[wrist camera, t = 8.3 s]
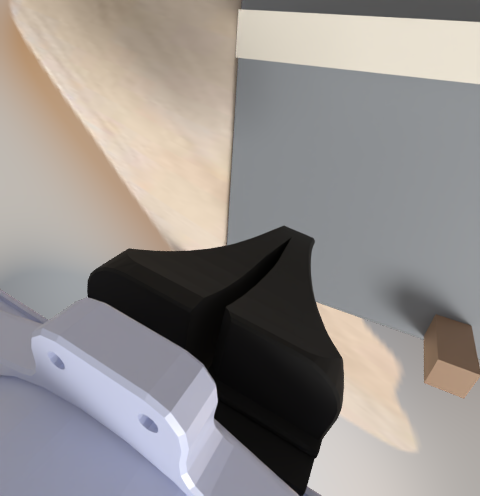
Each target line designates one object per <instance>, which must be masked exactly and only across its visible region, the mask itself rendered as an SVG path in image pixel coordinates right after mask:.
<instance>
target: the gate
mask: <svg viewBox="0 0 480 496" xmlns="http://www.w3.org/2000/svg"><path fill="white" fill-rule="evenodd" d="M235 57H236V58H245V59H255V60H264V61H273V62H282V63H291V64H300V65H309V66H318V67H327V68H336V69H345V70H355V71H364V72H373V73H382V74H391V75H400V76H409V77H418V78H427V79H436V80H446V81H455V82H464V83H473V84H480V22H468V21H449V20H431V19H412V18H393V17H374V16H355V15H337V14H318V13H299V12H280V11H262V10H243V9H238V25H237V41H236V56H235Z"/></svg>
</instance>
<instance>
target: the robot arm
mask: <svg viewBox="0 0 480 496" xmlns="http://www.w3.org/2000/svg"><path fill="white" fill-rule="evenodd" d="M314 244H315V240H314V238H312V237H310V236H308V235H305V234H303V233H301V232H298V231H296V230H293V229H291V228H289V227H286V226H281V227H279V228H276V229H274V230H271V231H269V232H266V233H264V234H261V235H259V236H256V237H253V238H251V239H248V240H244V241H241V242H238V243H235V244H231V245H227V246H222V247H217V248H211V249H202V250H192V251H150V250H138V249H127V250H126V251H124V252H122V253H121V254H119V255H117V256H116V257H114V258H113V259H111V260H109V261H108V262H106V263H105V264H103V265H102V266H100V267H98V268H97V269H95V270H94V271H93V272H92V273H91V274H90V276H89V279H88V290H87V292H88V298H87V297H86V298H84V299H81V300H78V301H76V302H74V303H73V304H72V305H70V306H69V307H67V308H66V309H64V310H63V311H61V312H60V313H58V314H57V315H56V316H54V317H53V318H51V319H50V320H48V319H46V318H45V317H43V316H41V315H40V314H38V313H36V312H35V311H34V310H32V309H31V308H29V307H27V306H26V305H24V304H23V303H21V302H20V301H18V300H16V299H15V298H13V297H12V296H10V295H9V294H7V293H6V292H4V291H3V290H1V289H0V496H321V495H320V494H318V493H317V492H315V491H314V490H312V489H310V488H309V487H307V484H308V480H309V477H310V473H311V469H312V466H313V462H314V458H316V457H317V455H318V453H319V449H320V446H321V442H322V439H323V437H324V436H325V435H326V433H327V432H328V431H329V429H330V428H331V427H332V425H333V424H334V423H335V421H336V420H337V418H338V416H339V414H340V411H341V408H342V402H343V390H344V370H343V359H342V357H341V355H340V354H339V352H338V351H337V349H336V347H335V346H334V344H333V342H332V341H331V339H330V337H329V335H328V333H327V331H326V329H325V327H324V324H323V322H322V319H321V316H320V314H319V311H318V308H317V304H316V301H315V297H314V292H313V286H312V278H311V254H312V248H313V246H314Z"/></svg>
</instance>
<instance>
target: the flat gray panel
mask: <svg viewBox="0 0 480 496" xmlns="http://www.w3.org/2000/svg"><path fill="white" fill-rule="evenodd" d="M241 9H243V10H262V11H280V12H299V13H318V14H337V15H355V16H374V17H393V18H412V19H431V20H449V21H468V22H480V0H242V5H241ZM281 226H286V227H289V228H291V229H293V230H296V231H298V232H301V233H303V234H305V235H308V236H310V237H312V238H314V240H315V244H314V246H313V248H312V254H311V278H312V286H313V292H314V297H315V301H316V302H318V303H321V304H324V305H326V306H329V307H332V308H335V309H338V310H340V311H343V312H346V313H349V314H352V315H355V316H357V317H360V318H363V319H366V320H369V321H372V322H374V323H377V324H380V325H383V326H386V327H389V328H391V329H394V330H397V331H400V332H402V333H405V334H408V335H411V336H414V337H417V338H420V339H422V340H424V383H426V384H429V385H431V386H433V387H436V388H439V389H441V390H444V391H446V392H449V393H451V394H454V395H456V396H459V397H461V398H465V396H466V395H467V394H468V392H469V391H470V390H471V388H472V387H473V385H474V384H475V383H476V381H477V380H478V379H479V377H480V368H479V362H478V359H479V360H480V84H473V83H464V82H455V81H446V80H436V79H427V78H418V77H409V76H400V75H391V74H382V73H373V72H364V71H355V70H345V69H336V68H327V67H318V66H309V65H300V64H291V63H282V62H273V61H264V60H255V59H245V58H238V71H237V88H236V104H235V121H234V137H233V154H232V171H231V187H230V204H229V220H228V237H227V245H231V244H235V243H238V242H241V241H244V240H248V239H251V238H253V237H256V236H259V235H261V234H264V233H266V232H269V231H271V230H274V229H276V228H279V227H281Z"/></svg>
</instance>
